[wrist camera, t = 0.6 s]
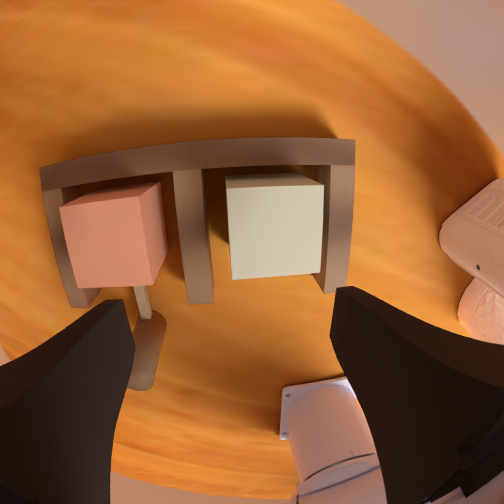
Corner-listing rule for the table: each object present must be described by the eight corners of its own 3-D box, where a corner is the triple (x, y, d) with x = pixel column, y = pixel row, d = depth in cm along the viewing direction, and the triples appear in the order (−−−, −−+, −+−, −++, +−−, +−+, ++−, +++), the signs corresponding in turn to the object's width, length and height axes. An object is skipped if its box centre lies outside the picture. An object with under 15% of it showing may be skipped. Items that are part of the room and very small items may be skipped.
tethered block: (183, 333, 21) (174, 391, 16) (128, 334, 21) (108, 389, 15) (160, 181, 17) (132, 200, 11) (96, 189, 17) (49, 212, 11)
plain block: (296, 240, 19) (320, 272, 15) (229, 244, 19) (232, 279, 14) (297, 172, 18) (323, 185, 13) (225, 175, 17) (226, 188, 13)
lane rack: (332, 274, 21) (345, 291, 18) (84, 290, 19) (71, 307, 17) (338, 139, 17) (355, 139, 15) (58, 163, 15) (39, 167, 13)
